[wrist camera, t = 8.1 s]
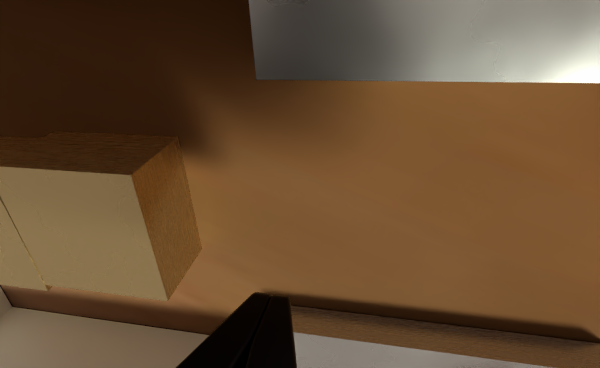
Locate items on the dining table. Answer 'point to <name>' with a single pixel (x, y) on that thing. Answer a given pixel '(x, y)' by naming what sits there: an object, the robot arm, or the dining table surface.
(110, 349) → the tray
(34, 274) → the beige wooden block
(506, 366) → the plate
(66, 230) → the tan block
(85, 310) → the dining table surface
